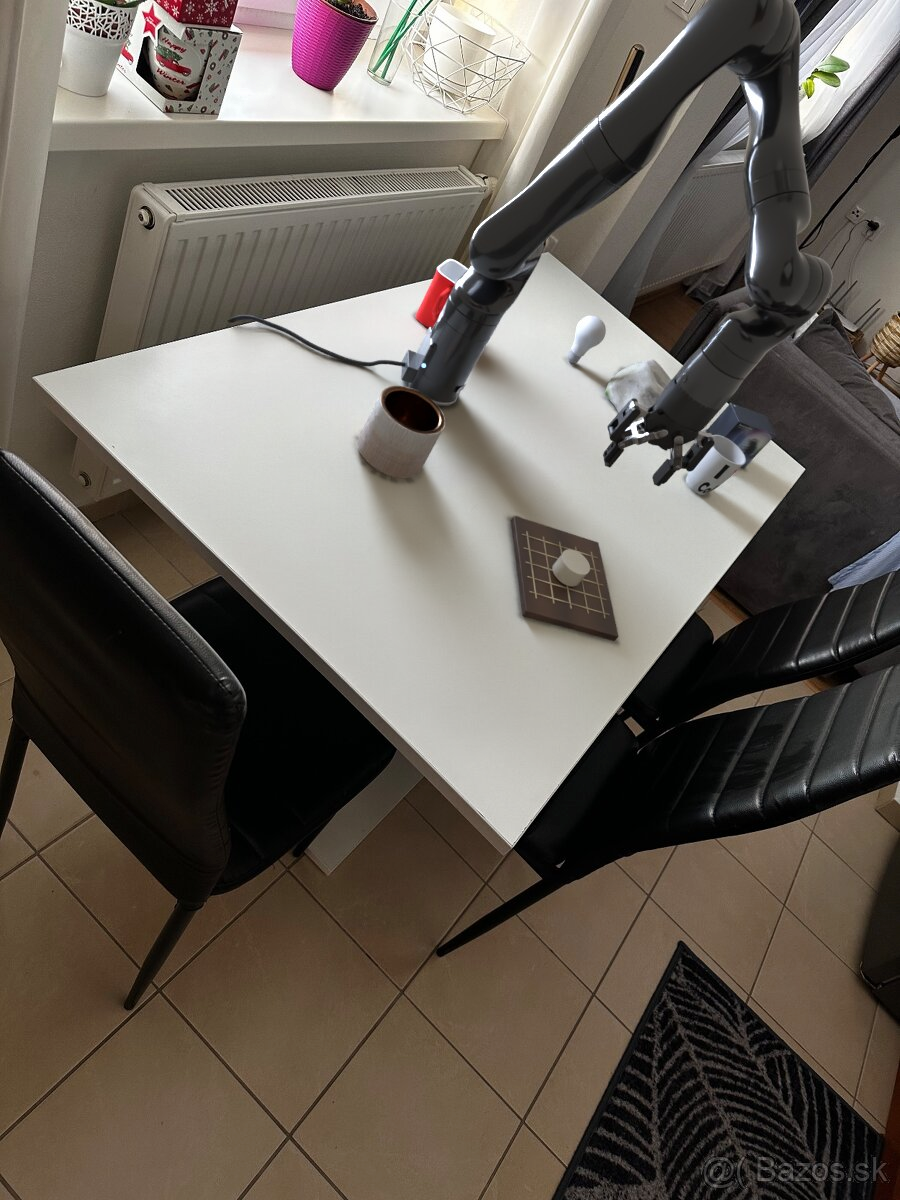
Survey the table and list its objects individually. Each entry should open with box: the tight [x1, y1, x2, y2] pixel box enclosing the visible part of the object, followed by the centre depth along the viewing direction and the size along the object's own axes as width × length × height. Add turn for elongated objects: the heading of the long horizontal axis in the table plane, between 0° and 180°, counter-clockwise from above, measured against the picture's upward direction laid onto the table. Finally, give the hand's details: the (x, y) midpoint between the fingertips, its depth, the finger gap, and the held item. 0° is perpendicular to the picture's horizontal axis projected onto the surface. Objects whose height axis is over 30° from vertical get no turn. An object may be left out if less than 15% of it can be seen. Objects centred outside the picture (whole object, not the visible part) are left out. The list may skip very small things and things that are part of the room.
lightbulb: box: [566, 315, 607, 364], centre depth 177 cm, size 6×6×11 cm
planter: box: [357, 385, 446, 479], centre depth 131 cm, size 11×11×10 cm
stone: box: [604, 358, 672, 432], centre depth 183 cm, size 28×7×15 cm
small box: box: [707, 402, 777, 470], centre depth 181 cm, size 11×6×10 cm, turn 99°
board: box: [510, 515, 619, 642], centre depth 133 cm, size 16×20×1 cm
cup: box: [685, 435, 746, 496], centre depth 168 cm, size 8×8×10 cm
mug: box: [415, 258, 469, 329], centre depth 162 cm, size 12×8×11 cm
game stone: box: [552, 549, 590, 586], centre depth 132 cm, size 5×5×3 cm
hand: (630, 472), depth 124 cm, fingers open, 8 cm apart
